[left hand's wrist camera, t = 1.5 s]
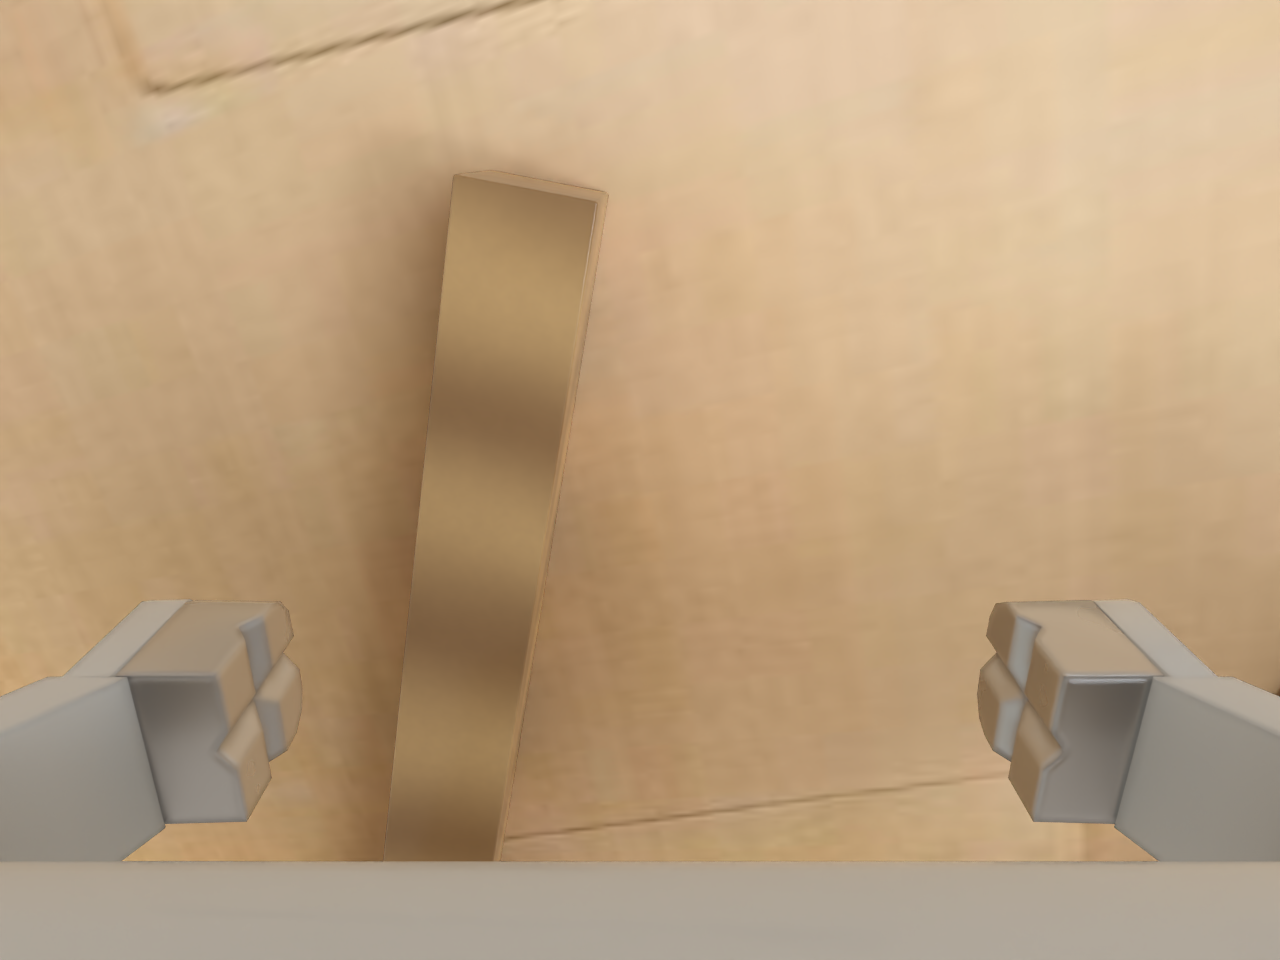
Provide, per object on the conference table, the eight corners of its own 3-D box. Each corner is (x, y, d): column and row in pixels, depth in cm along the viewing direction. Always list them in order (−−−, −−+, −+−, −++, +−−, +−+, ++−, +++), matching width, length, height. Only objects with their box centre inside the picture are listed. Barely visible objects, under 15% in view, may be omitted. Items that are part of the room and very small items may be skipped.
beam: (489, 169, 33) (452, 173, 27) (609, 192, 33) (598, 201, 27) (381, 1095, 50) (346, 1218, 44) (460, 1106, 50) (435, 1230, 45)
